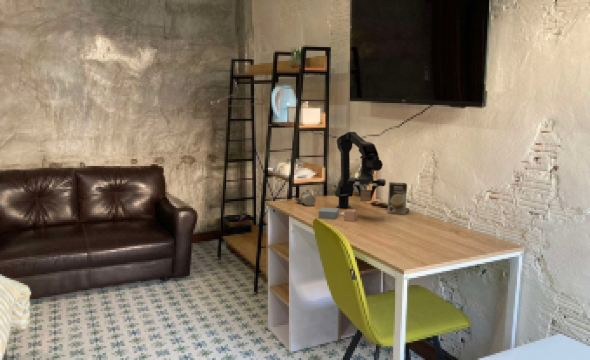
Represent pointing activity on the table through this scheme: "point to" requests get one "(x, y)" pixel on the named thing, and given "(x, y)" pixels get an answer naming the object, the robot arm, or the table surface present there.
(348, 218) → the terracotta cube
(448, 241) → the table surface
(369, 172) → the robot arm
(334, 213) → the grey block
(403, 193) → the coffee box
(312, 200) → the ceramic sculpture
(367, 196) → the walnut cube
